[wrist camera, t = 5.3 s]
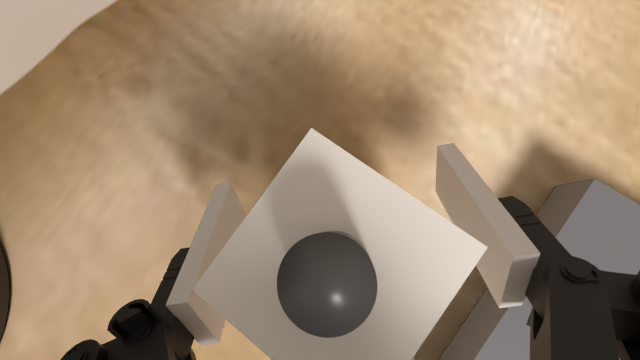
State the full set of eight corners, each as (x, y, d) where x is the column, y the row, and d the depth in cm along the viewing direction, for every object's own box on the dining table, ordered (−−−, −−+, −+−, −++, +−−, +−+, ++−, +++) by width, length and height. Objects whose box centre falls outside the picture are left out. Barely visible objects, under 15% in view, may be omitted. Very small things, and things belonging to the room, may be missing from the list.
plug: (292, 250, 19) (141, 309, 6) (338, 186, 20) (298, 98, 6) (357, 300, 18) (360, 513, 5) (404, 233, 19) (533, 255, 5)
